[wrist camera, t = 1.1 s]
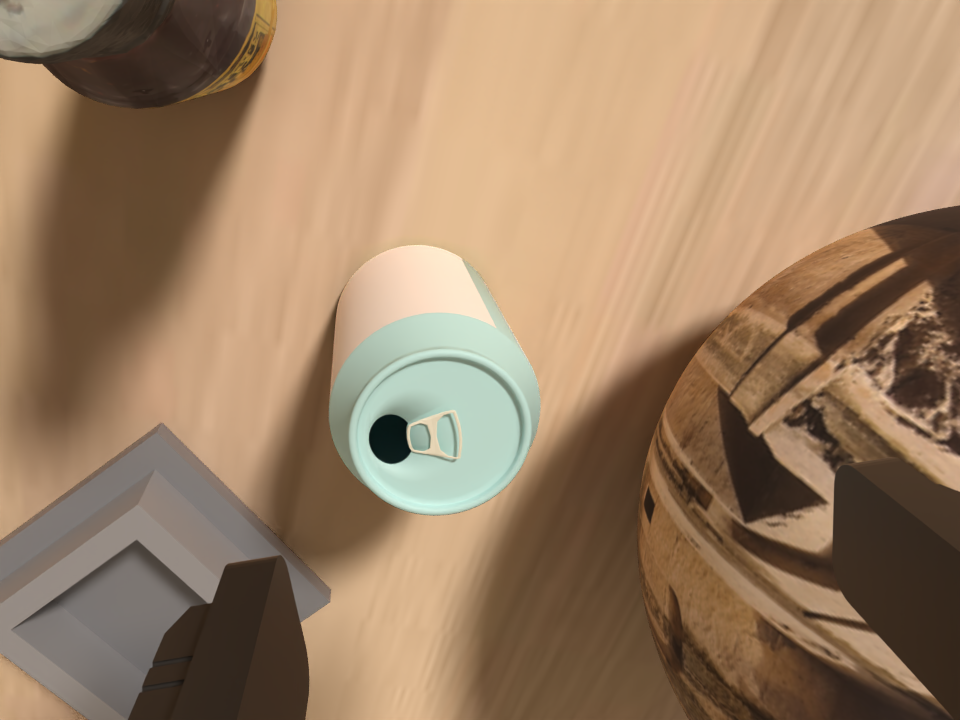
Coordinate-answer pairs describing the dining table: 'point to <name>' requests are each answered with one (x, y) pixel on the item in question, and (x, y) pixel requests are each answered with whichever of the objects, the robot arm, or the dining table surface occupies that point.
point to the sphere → (799, 476)
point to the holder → (126, 572)
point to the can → (429, 384)
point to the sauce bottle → (140, 45)
